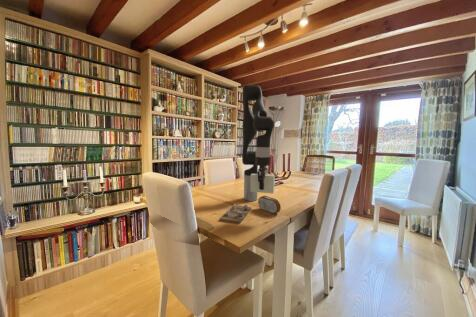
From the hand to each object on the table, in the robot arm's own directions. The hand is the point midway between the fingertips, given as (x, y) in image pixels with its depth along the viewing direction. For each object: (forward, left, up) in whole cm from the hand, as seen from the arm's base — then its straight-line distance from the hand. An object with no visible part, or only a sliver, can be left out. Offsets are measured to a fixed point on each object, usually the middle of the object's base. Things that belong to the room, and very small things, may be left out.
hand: (262, 188), depth 106 cm
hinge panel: (0, -14, -16) cm, 21 cm away
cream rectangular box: (0, 0, -2) cm, 2 cm away
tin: (-11, +2, -16) cm, 19 cm away
